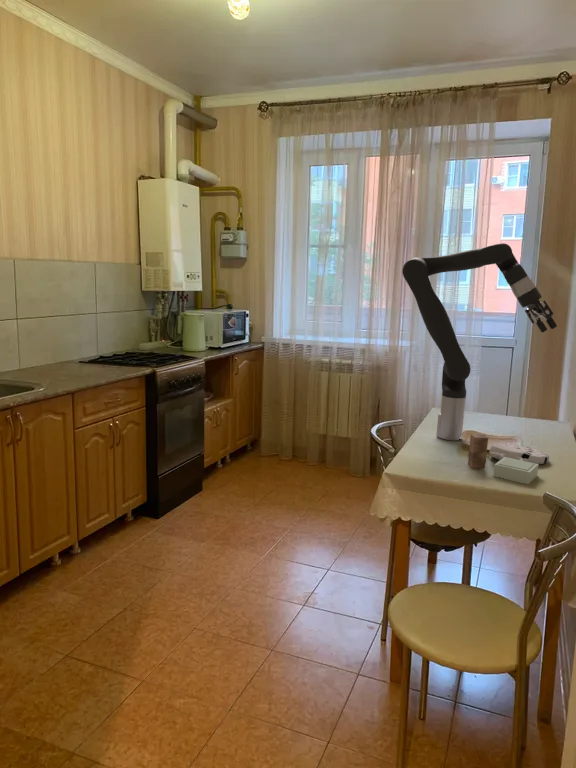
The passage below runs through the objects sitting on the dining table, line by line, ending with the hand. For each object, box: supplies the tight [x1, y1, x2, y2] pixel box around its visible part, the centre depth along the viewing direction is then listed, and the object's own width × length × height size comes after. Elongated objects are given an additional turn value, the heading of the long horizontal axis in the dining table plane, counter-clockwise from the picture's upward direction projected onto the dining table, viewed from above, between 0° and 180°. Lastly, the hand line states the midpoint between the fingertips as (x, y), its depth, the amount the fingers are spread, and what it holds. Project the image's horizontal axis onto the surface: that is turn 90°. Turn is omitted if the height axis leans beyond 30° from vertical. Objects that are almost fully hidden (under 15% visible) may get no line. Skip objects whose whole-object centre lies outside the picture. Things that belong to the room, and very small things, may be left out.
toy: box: [489, 442, 550, 465], centre depth 205 cm, size 22×5×20 cm
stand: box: [492, 457, 540, 485], centre depth 187 cm, size 11×11×4 cm
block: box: [467, 433, 489, 470], centre depth 194 cm, size 4×4×11 cm
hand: (549, 329), depth 206 cm, fingers open, 8 cm apart
